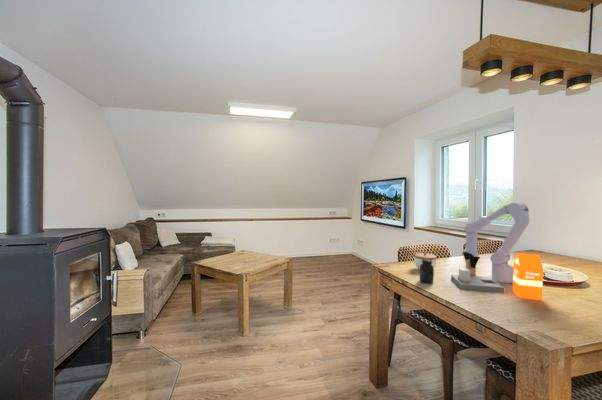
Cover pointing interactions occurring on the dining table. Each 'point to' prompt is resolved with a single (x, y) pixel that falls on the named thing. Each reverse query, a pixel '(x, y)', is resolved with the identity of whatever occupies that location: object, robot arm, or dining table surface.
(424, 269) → the supplement bottle
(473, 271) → the peg
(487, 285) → the socket board
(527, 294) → the orange juice
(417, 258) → the lidded bowl
